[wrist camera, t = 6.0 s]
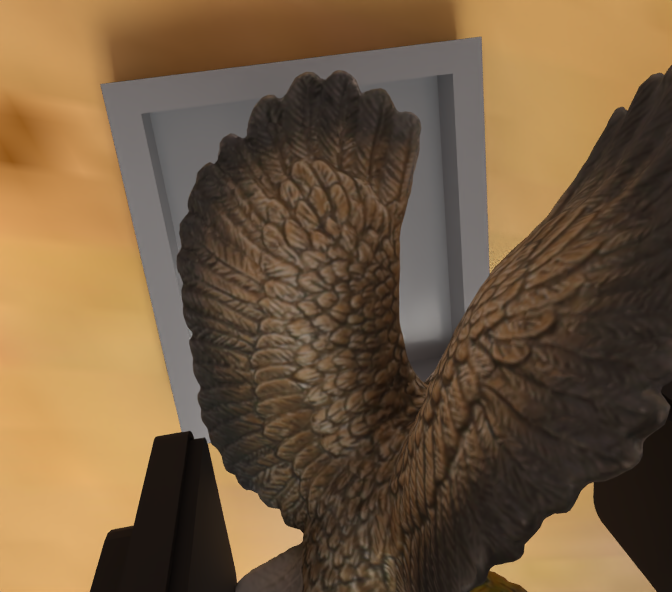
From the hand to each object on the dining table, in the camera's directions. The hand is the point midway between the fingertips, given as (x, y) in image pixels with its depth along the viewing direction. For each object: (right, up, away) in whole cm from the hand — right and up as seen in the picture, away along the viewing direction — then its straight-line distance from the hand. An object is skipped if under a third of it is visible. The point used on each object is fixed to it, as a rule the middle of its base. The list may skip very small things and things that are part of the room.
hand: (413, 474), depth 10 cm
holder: (-2, +5, +14) cm, 15 cm away
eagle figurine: (0, +2, +2) cm, 3 cm away
